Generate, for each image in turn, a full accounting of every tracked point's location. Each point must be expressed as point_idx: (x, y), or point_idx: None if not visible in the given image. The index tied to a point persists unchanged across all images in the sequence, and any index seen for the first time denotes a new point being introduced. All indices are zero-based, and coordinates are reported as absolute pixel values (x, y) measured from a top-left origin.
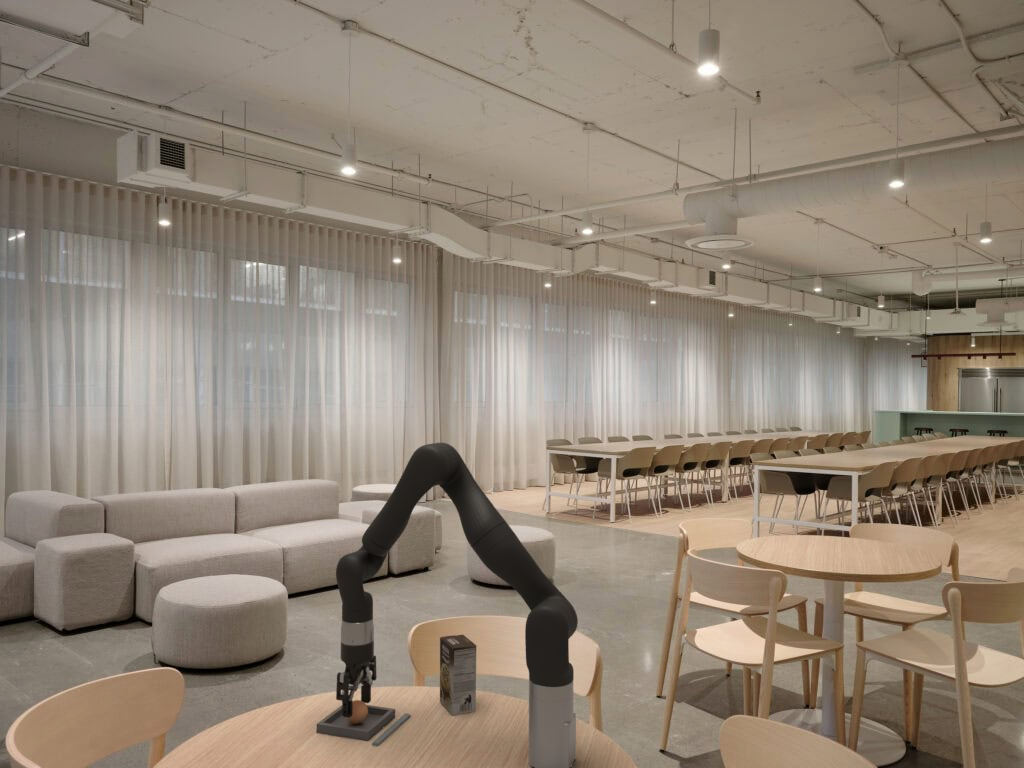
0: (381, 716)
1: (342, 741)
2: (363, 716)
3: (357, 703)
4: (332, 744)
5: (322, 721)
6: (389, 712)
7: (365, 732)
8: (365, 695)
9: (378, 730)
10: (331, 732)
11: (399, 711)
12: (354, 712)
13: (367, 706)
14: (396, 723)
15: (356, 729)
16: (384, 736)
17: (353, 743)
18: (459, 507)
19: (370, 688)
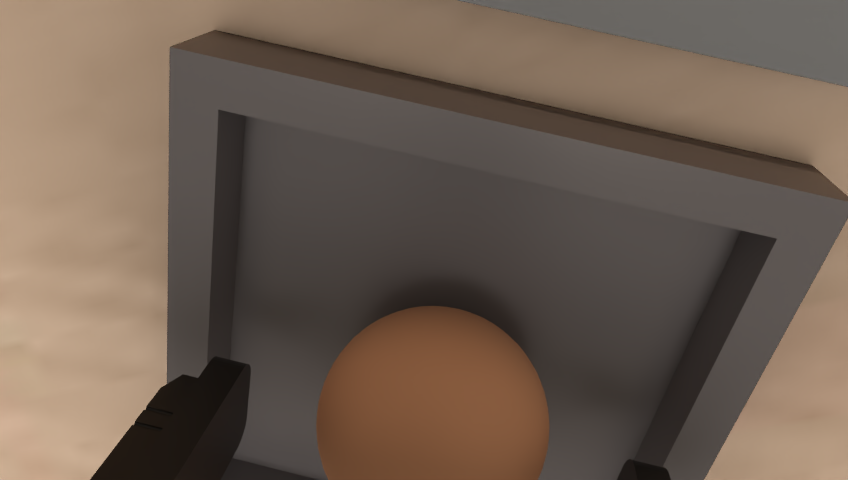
0: (266, 171)
1: (785, 381)
2: (499, 338)
3: None
4: (839, 439)
5: None
6: (279, 92)
7: (834, 232)
8: (215, 453)
9: (590, 120)
10: None
11: (62, 24)
12: (545, 452)
13: (200, 345)
14: None
15: (763, 335)
16: (789, 4)
17: (842, 288)
18: None
19: (144, 471)
